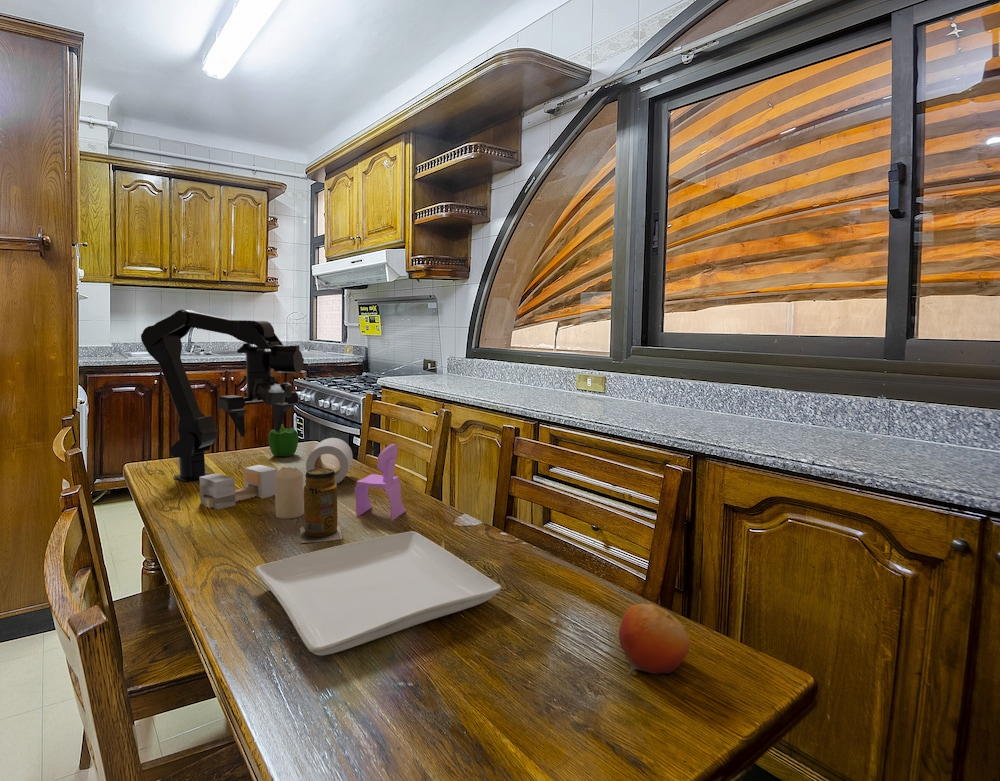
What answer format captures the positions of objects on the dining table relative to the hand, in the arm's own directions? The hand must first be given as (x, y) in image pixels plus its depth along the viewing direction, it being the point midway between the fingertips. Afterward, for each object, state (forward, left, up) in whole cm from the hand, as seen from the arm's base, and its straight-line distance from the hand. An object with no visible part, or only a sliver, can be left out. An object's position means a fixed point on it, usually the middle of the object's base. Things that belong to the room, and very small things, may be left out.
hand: (260, 434), depth 143 cm
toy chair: (+42, +1, -12) cm, 44 cm away
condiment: (+42, -14, -12) cm, 46 cm away
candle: (+28, -11, -12) cm, 33 cm away
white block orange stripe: (+10, -6, -12) cm, 17 cm away
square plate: (+69, -25, -12) cm, 75 cm away
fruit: (+108, -17, -12) cm, 110 cm away
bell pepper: (-20, +20, -12) cm, 30 cm away
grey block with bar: (+10, -10, -12) cm, 19 cm away
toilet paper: (+13, +11, -12) cm, 21 cm away
